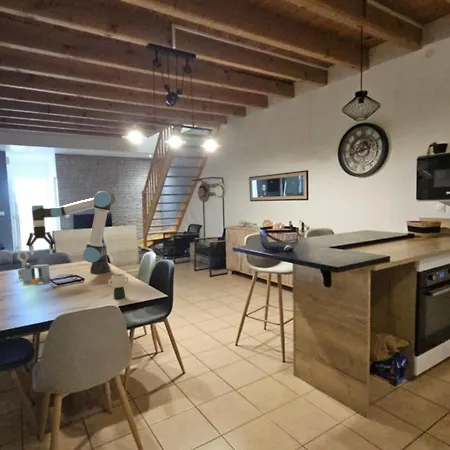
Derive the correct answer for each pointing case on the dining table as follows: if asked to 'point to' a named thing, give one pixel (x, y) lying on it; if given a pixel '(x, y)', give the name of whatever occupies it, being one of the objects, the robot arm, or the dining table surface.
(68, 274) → the felt mat
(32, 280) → the plug
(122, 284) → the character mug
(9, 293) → the dining table surface
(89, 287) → the dining table surface
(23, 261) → the engine component
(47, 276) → the housing
